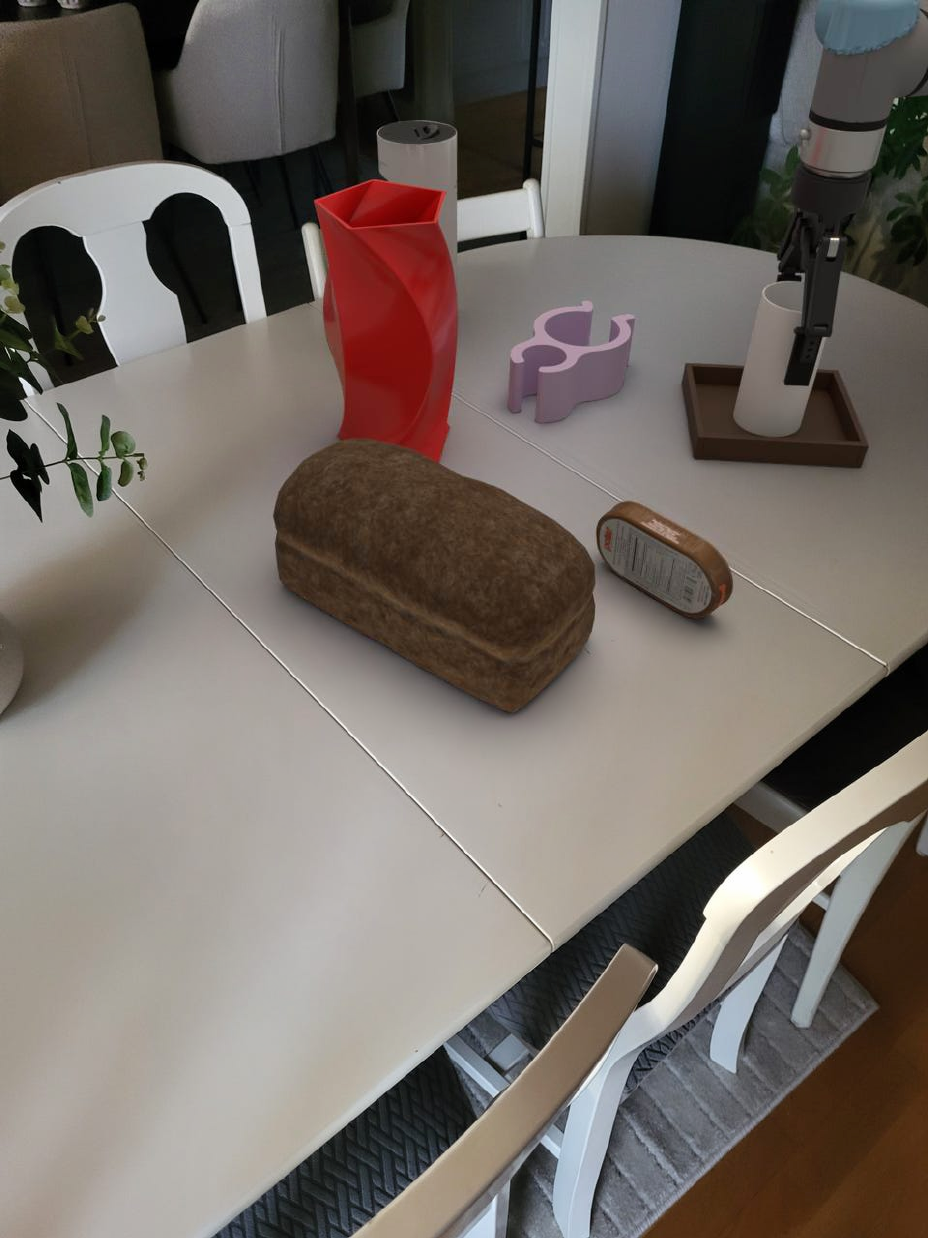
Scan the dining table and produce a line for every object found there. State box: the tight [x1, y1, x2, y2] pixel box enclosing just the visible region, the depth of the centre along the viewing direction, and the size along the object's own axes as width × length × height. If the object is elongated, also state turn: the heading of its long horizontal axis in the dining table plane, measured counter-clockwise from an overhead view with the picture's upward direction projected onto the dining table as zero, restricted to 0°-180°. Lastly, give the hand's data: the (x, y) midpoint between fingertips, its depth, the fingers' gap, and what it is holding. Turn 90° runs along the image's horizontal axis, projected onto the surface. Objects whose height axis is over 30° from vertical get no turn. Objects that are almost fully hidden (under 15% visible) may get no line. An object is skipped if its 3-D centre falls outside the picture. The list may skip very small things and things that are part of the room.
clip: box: [507, 300, 636, 424], centre depth 122 cm, size 20×12×7 cm, turn 144°
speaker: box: [376, 119, 459, 307], centre depth 128 cm, size 11×10×26 cm
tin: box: [595, 500, 734, 619], centre depth 92 cm, size 15×3×8 cm, turn 44°
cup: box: [733, 281, 838, 437], centre depth 112 cm, size 8×8×16 cm
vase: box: [313, 178, 459, 464], centre depth 104 cm, size 15×14×28 cm
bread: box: [272, 438, 597, 714], centre depth 87 cm, size 15×32×16 cm, turn 53°
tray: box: [681, 362, 870, 469], centre depth 117 cm, size 20×18×3 cm
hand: (786, 354), depth 111 cm, fingers open, 13 cm apart
